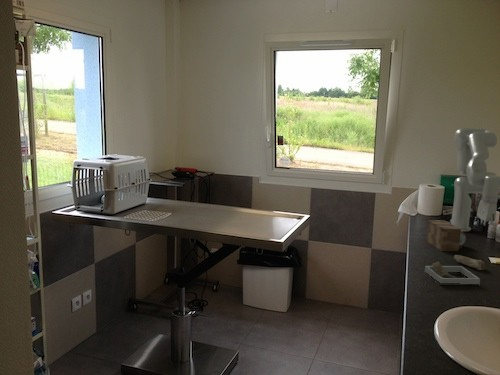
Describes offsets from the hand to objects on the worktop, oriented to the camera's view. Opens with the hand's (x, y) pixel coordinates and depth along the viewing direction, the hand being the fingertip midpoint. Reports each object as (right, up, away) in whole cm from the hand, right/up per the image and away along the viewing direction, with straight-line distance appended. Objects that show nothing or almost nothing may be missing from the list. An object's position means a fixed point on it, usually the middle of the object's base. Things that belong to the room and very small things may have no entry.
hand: (483, 231), depth 244 cm
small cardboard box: (-22, -7, -3) cm, 23 cm away
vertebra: (-42, -16, -49) cm, 66 cm away
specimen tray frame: (-39, -15, -48) cm, 64 cm away
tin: (-19, -7, -3) cm, 20 cm away
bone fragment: (-23, -13, -32) cm, 42 cm away
